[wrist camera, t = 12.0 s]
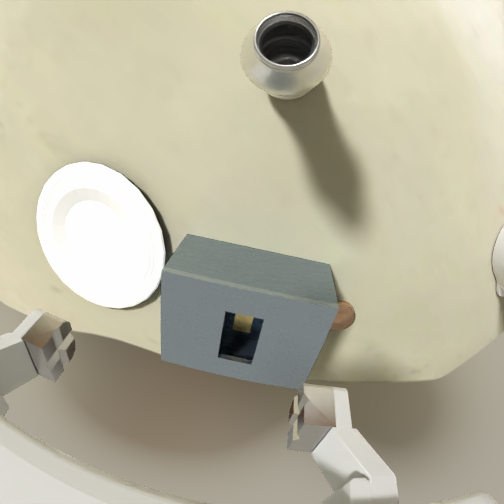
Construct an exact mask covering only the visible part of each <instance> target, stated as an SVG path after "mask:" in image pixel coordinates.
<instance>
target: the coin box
mask: <svg viewBox="0 0 504 504" xmlns="http://www.w3.org/2000/svg"><path fill="white" fill-rule="evenodd" d="M338 310H339V306H338V301H337V296H336V291H335V286H334V282H333V277H332V273H331V268H330V265H329V264H325V263H320V262H316V261H311V260H306V259H302V258H297V257H292V256H288V255H283V254H279V253H274V252H269V251H265V250H260V249H255V248H251V247H246V246H241V245H237V244H232V243H227V242H223V241H218V240H213V239H209V238H204V237H199V236H195V235H190V234H187V235H186V237H185V238H184V239H183V241H182V242H181V244H180V245H179V246H178V248H177V249H176V251H175V252H174V253H173V255H172V256H171V258H170V259H169V261H168V262H167V263H166V265H165V266H164V268H163V269H162V273H161V360H164V361H168V362H171V363H175V364H179V365H182V366H187V367H190V368H194V369H198V370H202V371H206V372H210V373H215V374H219V375H223V376H228V377H233V378H237V379H243V380H247V381H253V382H258V383H263V384H269V385H275V386H280V387H287V388H293V389H298V388H299V387H300V385H301V384H302V383H305V381H306V379H307V377H308V375H309V373H310V371H311V369H312V367H313V365H314V363H315V361H316V359H317V357H318V355H319V352H320V350H321V348H322V346H323V344H324V342H325V339H326V337H327V335H328V333H329V330H330V328H331V326H332V324H333V321H334V319H335V317H336V314H337V312H338ZM236 314H240V315H245V316H250V317H254V318H253V322H252V326H251V329H250V333H247V332H243V331H238V330H234V329H233V324H234V320H235V315H236Z"/></svg>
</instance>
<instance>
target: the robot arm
mask: <svg viewBox="0 0 504 504" xmlns="http://www.w3.org/2000/svg"><path fill="white" fill-rule="evenodd" d="M492 267H493V272H494V275H495V277H496V280H497V284H496V292H497V294H498V295H499V296H501V297H504V226H503V228H502V229H501V231H500V233H499V235H498V238H497V240H496V243H495V246H494V250H493V257H492ZM71 330H72V328H71V325H70V322H67V321H65V320H63V319H61V318H58V317H56V316H54V315H52V314H49V313H47V312H45V311H42V310H40V309H35V310H33V311H32V312H31V313H30V314H29V315H28V316H27V317H26V319H25V320H24V321H23V322H22V323H21V324H20V325H19V326H18V327H17V328H16V329H15V331H14V332H13V333H12V334H11V333H6V334H4V335H1V336H0V504H208V503H204V502H199V501H195V500H190V499H186V498H182V497H178V496H175V495H171V494H167V493H164V492H160V491H157V490H154V489H151V488H148V487H145V486H141V485H139V484H136V483H133V482H130V481H127V480H124V479H122V478H119V477H116V476H114V475H111V474H109V473H106V472H104V471H102V470H99V469H97V468H95V467H92V466H90V465H88V464H86V463H84V462H81V461H79V460H77V459H75V458H73V457H71V456H69V455H67V454H65V453H63V452H61V451H59V450H57V449H55V448H54V447H52V446H50V445H48V444H46V443H45V442H42V441H41V440H39V439H38V438H36V437H34V436H32V435H31V434H29V433H27V432H26V431H24V430H23V429H21V428H20V427H18V426H16V425H15V424H13V423H12V422H10V421H9V420H7V419H6V418H4V415H5V414H6V412H7V411H8V409H9V406H8V404H7V402H6V401H5V399H4V398H3V396H4V395H5V394H7V393H9V392H11V391H12V390H14V389H16V388H18V387H19V386H21V385H23V384H25V383H26V382H28V381H30V380H32V379H33V378H35V377H37V376H38V375H41V376H43V377H45V378H47V379H49V380H51V381H53V382H56V381H57V379H58V378H59V376H60V375H61V374H62V372H63V371H64V368H63V365H64V364H66V363H68V362H70V360H71V359H72V357H73V355H74V352H75V340H74V338H73V336H72V335H71V334H70V332H71ZM288 422H289V424H290V425H291V429H290V430H289V432H288V441H287V449H288V450H295V451H303V452H312V453H311V454H312V456H313V458H314V459H315V461H316V463H317V464H318V466H319V468H320V469H321V471H322V473H323V475H324V476H325V478H326V480H327V481H328V483H329V485H330V486H331V488H332V490H333V491H334V493H333V494H332V495H331V496H329V497H328V498H326V499H325V500H324V501H322V502H321V503H320V504H399V499H398V491H397V483H396V476H395V474H394V473H393V472H392V471H391V470H390V468H388V466H387V465H386V464H385V463H384V462H383V460H382V459H381V458H380V457H379V456H378V454H377V453H376V452H375V451H374V449H373V448H372V447H371V446H370V445H369V443H368V442H367V441H366V440H365V439H364V437H363V436H362V435H361V434H360V433H359V431H358V430H357V429H353V428H352V421H351V413H350V405H349V399H348V391H347V389H346V388H338V387H330V386H323V385H314V384H306V383H302V384H301V385H300V387H299V388H298V395H297V396H295V397H294V399H293V401H292V403H291V406H290V411H289V420H288ZM431 504H499V503H497V502H496V501H495V500H494V499H493V498H492V497H491V496H490V495H488V494H487V493H486V492H484V491H478V492H474V493H470V494H467V495H463V496H460V497H456V498H452V499H448V500H444V501H440V502H436V503H431Z"/></svg>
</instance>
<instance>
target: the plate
mask: <svg viewBox="0 0 504 504" xmlns="http://www.w3.org/2000/svg"><path fill="white" fill-rule="evenodd" d="M36 217H37V228H38V235H39V239H40V242H41V246H42V249H43V252H44V254H45V256H46V257H47V259H48V261H49V263H50V265H51V267H52V268H53V270H54V271H55V272H56V274H57V275H58V276H59V278H60V279H61V280H62V281H63V282H64V283H65V284H66V285H67V286H68V287H69V288H70V289H71V290H73V291H74V292H75V293H76V294H78V295H80V296H81V297H83V298H84V299H86V300H88V301H89V302H92V303H95V304H98V305H100V306H103V307H109V308H118V309H121V308H127V307H132V306H136V305H137V304H139V303H141V302H143V301H145V300H147V299H148V298H149V297H150V296H151V294H152V293H153V292H154V291H155V290H156V289H157V288H158V285H159V283H160V280H161V273H162V269H163V268H164V266H165V257H166V249H165V244H164V238H163V232H162V229H161V226H160V224H159V222H158V219H157V217H156V214H155V212H154V210H153V208H152V206H151V205H150V204H149V202H148V201H147V199H146V198H145V197H144V195H143V194H142V192H141V191H140V189H139V188H137V187H136V186H135V185H134V184H133V183H132V182H131V181H130V180H128V179H127V178H126V177H125V176H124V175H123V174H121V173H119V172H117V171H115V170H113V169H111V168H109V167H107V166H105V165H103V164H97V163H91V162H80V163H74V164H69V165H67V166H65V167H63V168H62V169H60V170H58V171H57V172H55V173H54V174H53V175H52V177H51V178H50V179H49V180H48V181H47V183H46V184H45V185H44V188H43V190H42V193H41V195H40V198H39V201H38V208H37V216H36Z"/></svg>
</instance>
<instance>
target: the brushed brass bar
mask: <svg viewBox="0 0 504 504" xmlns="http://www.w3.org/2000/svg"><path fill="white" fill-rule="evenodd" d="M253 318H254V317H250V316H245V315H240V314H236V315H235V320H234V324H233V329H234V330H238V331H243V332H247V333H250V329H251V326H252V322H253Z"/></svg>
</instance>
